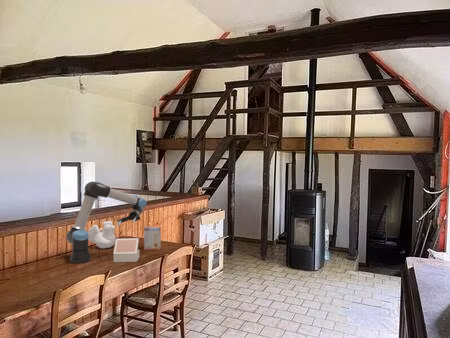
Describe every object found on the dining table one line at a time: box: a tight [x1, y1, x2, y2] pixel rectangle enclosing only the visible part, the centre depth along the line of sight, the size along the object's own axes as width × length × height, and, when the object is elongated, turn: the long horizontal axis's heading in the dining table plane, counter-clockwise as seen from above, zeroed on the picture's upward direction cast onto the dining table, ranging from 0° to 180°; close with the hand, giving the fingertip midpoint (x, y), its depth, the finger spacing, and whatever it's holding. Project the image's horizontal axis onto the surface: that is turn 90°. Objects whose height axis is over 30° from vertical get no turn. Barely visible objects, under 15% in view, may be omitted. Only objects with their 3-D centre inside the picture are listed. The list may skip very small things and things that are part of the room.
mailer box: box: [113, 249, 140, 263], centre depth 282 cm, size 14×18×6 cm
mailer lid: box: [113, 237, 140, 255], centre depth 280 cm, size 14×18×1 cm
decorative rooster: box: [87, 220, 117, 249], centre depth 323 cm, size 25×16×25 cm, turn 81°
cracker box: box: [143, 225, 162, 251], centre depth 315 cm, size 14×6×21 cm, turn 84°
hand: (125, 223), depth 291 cm, fingers open, 13 cm apart
